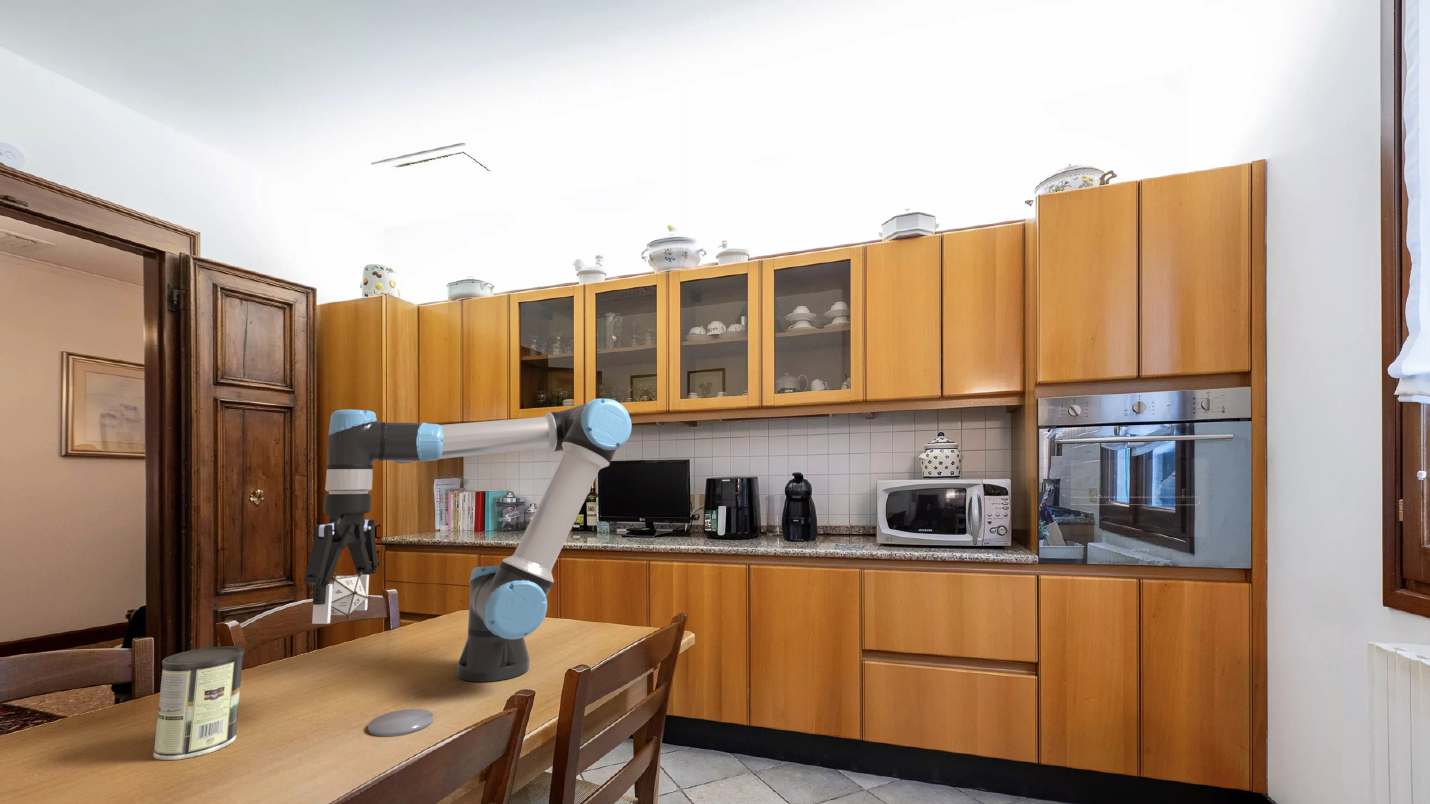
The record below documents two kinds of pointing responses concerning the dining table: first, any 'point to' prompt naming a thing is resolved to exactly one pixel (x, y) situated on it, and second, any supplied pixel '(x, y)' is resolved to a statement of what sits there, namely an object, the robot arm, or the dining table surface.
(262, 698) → the dining table surface
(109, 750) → the dining table surface
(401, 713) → the slate coaster
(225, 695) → the coffee can
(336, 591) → the game die
